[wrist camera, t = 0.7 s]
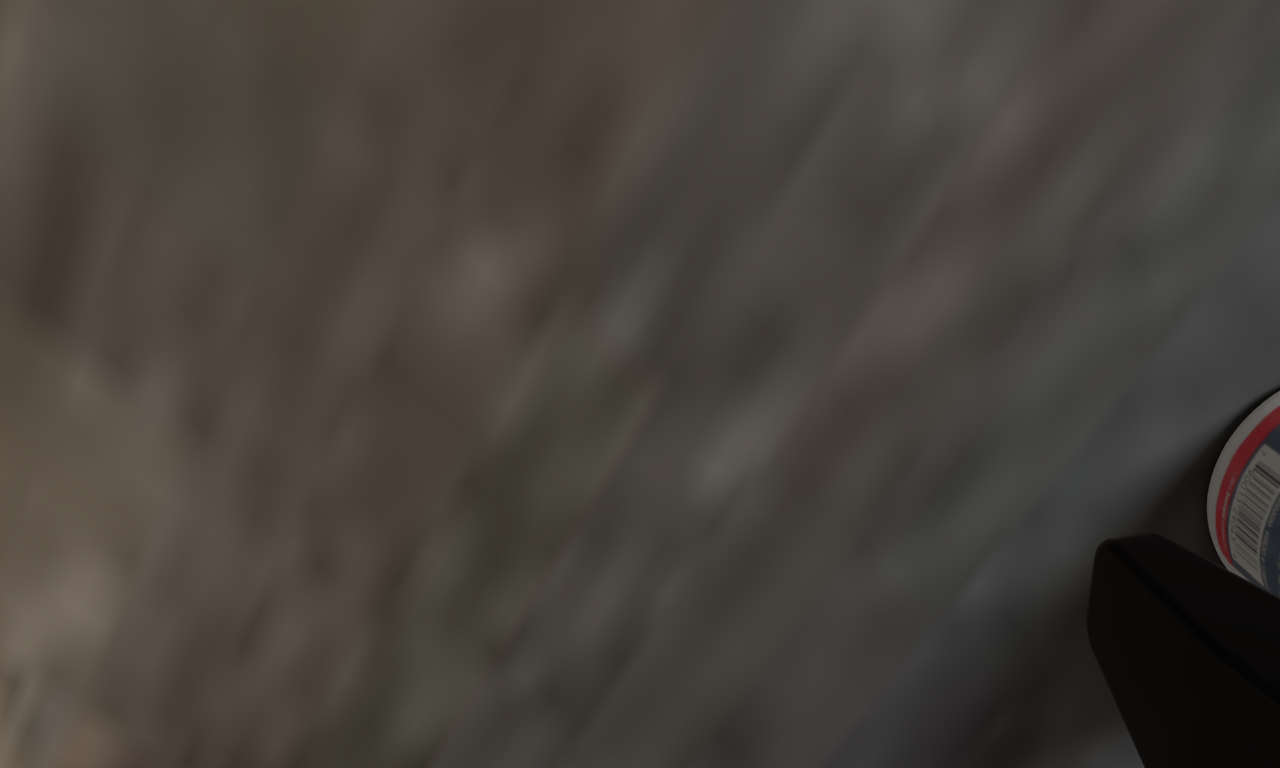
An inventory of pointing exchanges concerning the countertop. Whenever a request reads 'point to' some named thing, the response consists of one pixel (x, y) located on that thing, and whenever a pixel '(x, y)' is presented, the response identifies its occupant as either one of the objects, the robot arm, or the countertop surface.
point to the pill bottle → (1249, 499)
